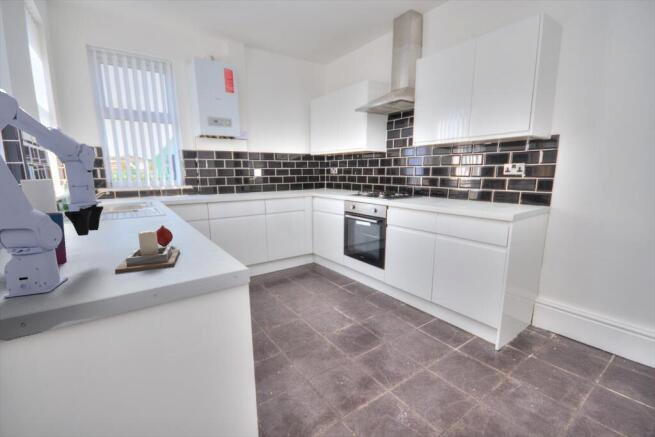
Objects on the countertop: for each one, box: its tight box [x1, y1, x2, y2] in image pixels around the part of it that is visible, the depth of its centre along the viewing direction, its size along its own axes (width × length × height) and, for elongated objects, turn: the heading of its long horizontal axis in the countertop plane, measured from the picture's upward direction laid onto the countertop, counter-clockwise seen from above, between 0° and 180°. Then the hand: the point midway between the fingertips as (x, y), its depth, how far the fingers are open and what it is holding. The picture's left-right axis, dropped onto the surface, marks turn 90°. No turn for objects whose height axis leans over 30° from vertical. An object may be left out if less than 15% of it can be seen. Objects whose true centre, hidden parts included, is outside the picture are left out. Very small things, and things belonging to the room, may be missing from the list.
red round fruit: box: [155, 225, 174, 247], centre depth 104 cm, size 6×6×8 cm
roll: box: [137, 230, 159, 256], centre depth 87 cm, size 5×5×8 cm
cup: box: [45, 212, 68, 265], centre depth 86 cm, size 7×7×15 cm
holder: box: [114, 245, 181, 274], centre depth 87 cm, size 16×14×3 cm
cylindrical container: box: [19, 178, 59, 213], centre depth 92 cm, size 7×7×25 cm
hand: (88, 232), depth 85 cm, fingers open, 7 cm apart
